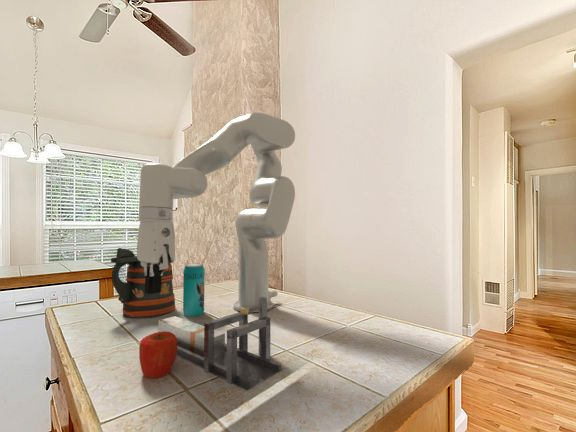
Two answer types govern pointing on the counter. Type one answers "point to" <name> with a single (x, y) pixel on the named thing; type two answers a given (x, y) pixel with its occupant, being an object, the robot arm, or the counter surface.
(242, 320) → the collar
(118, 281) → the beer stein
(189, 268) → the beverage can
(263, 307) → the frame
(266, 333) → the collar
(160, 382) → the counter surface
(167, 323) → the white box
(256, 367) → the rail plate
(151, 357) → the apple
